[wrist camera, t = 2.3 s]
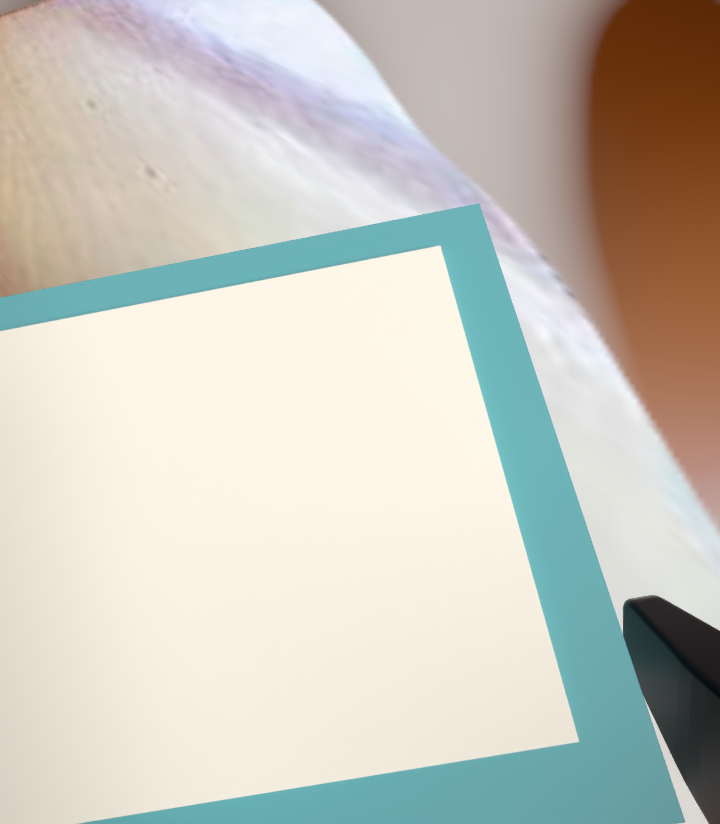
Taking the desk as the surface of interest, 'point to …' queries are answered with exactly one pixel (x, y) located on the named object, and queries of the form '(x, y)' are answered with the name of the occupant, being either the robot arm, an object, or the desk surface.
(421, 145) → the desk surface
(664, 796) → the teal carton
